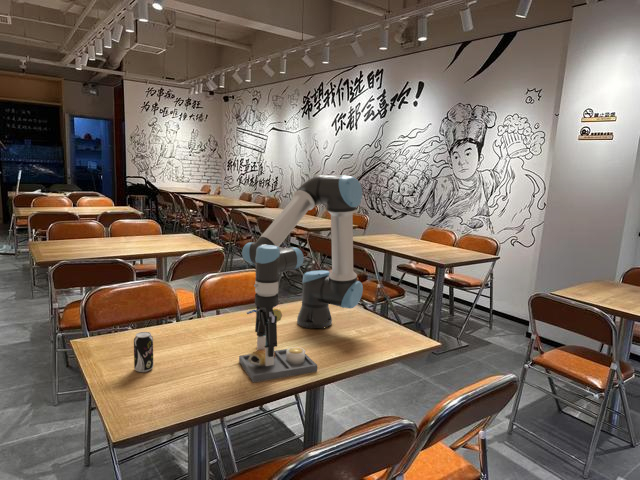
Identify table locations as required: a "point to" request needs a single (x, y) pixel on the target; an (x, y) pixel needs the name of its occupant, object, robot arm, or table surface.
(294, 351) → the serving board
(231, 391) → the table surface
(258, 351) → the pastry
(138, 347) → the beverage can
